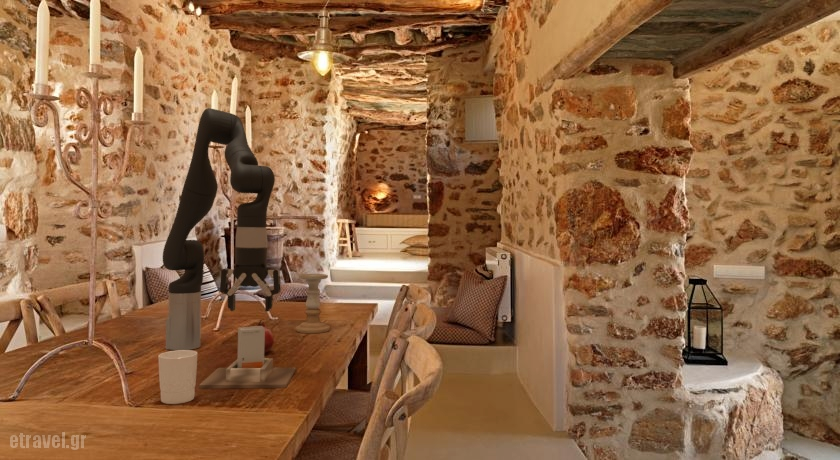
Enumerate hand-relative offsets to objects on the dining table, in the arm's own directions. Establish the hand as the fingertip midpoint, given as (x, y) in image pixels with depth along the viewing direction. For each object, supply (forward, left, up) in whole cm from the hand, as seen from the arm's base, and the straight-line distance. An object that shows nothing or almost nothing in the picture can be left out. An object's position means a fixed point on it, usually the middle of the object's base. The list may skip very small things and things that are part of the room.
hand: (250, 310), depth 140 cm
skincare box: (0, 0, -16) cm, 16 cm away
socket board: (0, 0, -17) cm, 17 cm away
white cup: (-12, -16, -17) cm, 26 cm away
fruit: (-4, +28, -17) cm, 33 cm away
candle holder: (+8, +64, -17) cm, 67 cm away
